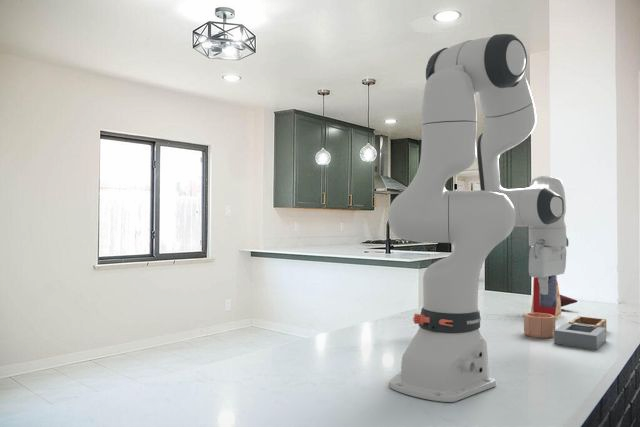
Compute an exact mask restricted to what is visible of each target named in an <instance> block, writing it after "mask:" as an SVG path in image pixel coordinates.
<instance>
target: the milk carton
mask: <svg viewBox="0 0 640 427" xmlns="http://www.w3.org/2000/svg"><path fill="white" fill-rule="evenodd" d="M532 284H533V287H532V300H531V309H530V313H545V314H551V315H554V316H555V320H558V319H559V318H560V317H561V316H562V307H561V300H560V295H561V294H560V289H559V284H558V279H557V280H556V285H557V307H543V306H540V296H539V282H538V277H533V281H532Z"/></svg>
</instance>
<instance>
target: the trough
mask: <svg viewBox="0 0 640 427" xmlns="http://www.w3.org/2000/svg"><path fill="white" fill-rule="evenodd" d="M568 323H569V324H573V323H577V324H585V325H594V326H597V327H602V328H606V329H607V319H606V318H597V317H590V316H589V317H588V316H578V315H577V317H575V318H572V319H571V320H570V321H569V322H568Z"/></svg>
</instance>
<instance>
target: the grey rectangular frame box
mask: <svg viewBox="0 0 640 427" xmlns="http://www.w3.org/2000/svg"><path fill="white" fill-rule="evenodd" d="M553 338H554V340H553V341H554V342H553V343H556V345H561V344H562V346H563V345H564V346H568V347H569V346H570V347H575V348H576V347H577V348H582V349H583V348H584V349H589V350H598V349H599V348H600V347H601V346H603V344H605V342H607V327H606V328H602V327H597V326H594V325H585V324H577V323H573V324H569V322H565V323H563V324H562V325H560V326H559V327H557V328H555V330H554V337H553Z"/></svg>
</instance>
